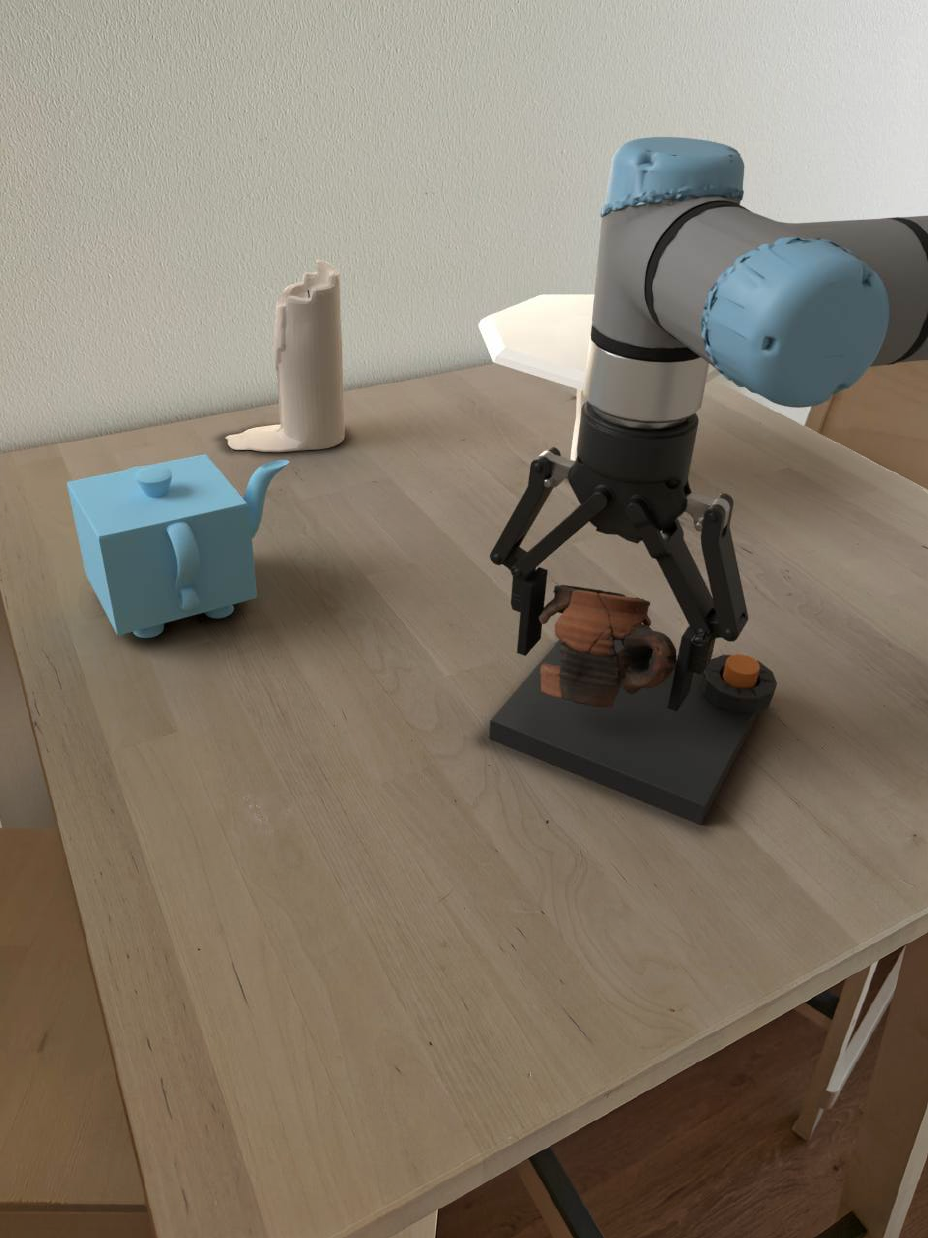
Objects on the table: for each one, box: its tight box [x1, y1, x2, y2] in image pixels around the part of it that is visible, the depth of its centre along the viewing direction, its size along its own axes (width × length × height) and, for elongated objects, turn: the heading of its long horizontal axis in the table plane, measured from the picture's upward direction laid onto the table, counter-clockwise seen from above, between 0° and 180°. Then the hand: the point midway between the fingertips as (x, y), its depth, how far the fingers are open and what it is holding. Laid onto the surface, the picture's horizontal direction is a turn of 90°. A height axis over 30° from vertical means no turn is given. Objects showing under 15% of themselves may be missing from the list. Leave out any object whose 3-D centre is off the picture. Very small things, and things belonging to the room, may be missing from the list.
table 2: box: [477, 293, 722, 461], centre depth 110 cm, size 28×28×17 cm
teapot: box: [66, 453, 290, 639], centre depth 88 cm, size 18×16×13 cm
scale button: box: [723, 653, 760, 689], centre depth 79 cm, size 3×3×2 cm
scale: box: [488, 639, 778, 825], centre depth 79 cm, size 18×16×4 cm
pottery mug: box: [539, 584, 677, 708], centre depth 76 cm, size 12×10×8 cm
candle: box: [225, 259, 346, 453], centre depth 113 cm, size 7×14×20 cm, turn 105°
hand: (601, 672), depth 77 cm, fingers closed on pottery mug, 12 cm apart
